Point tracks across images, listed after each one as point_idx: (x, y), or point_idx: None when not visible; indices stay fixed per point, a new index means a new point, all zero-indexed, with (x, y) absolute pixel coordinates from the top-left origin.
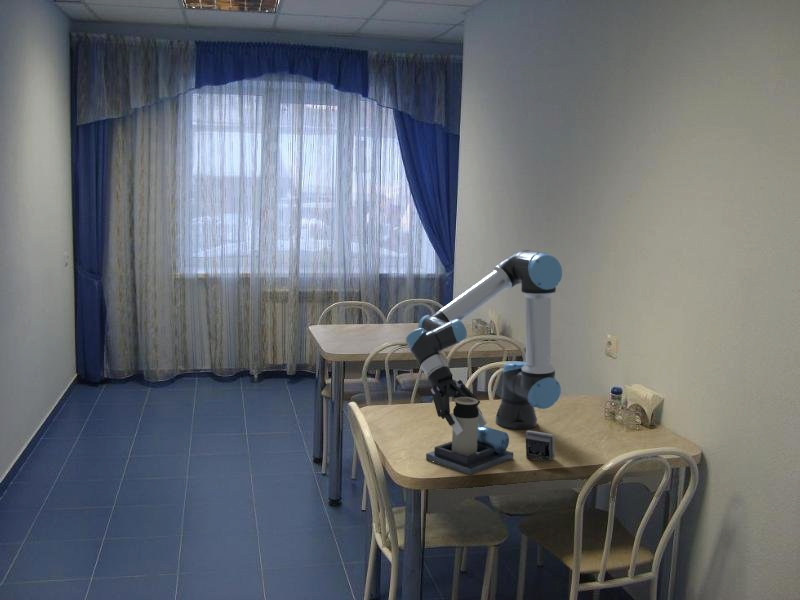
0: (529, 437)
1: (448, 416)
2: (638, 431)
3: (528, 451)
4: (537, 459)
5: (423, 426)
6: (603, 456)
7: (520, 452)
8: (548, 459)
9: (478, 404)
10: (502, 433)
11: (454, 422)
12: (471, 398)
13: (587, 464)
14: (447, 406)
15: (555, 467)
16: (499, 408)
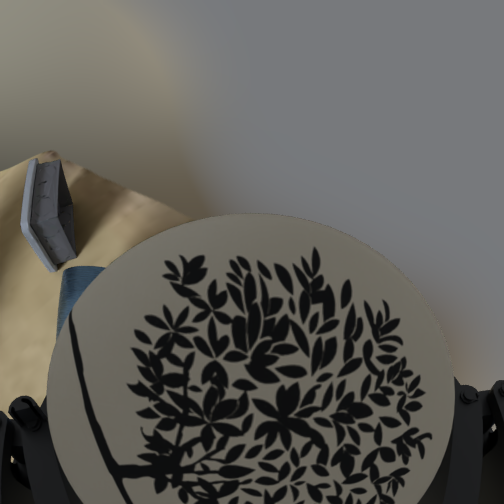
0: (49, 210)
1: (454, 380)
2: None
3: (55, 256)
4: (71, 231)
5: None
6: (9, 174)
7: (50, 297)
8: (63, 210)
9: (29, 398)
10: (87, 267)
11: None
12: (92, 433)
13: (52, 159)
14: (474, 445)
15: (96, 176)
16: None
